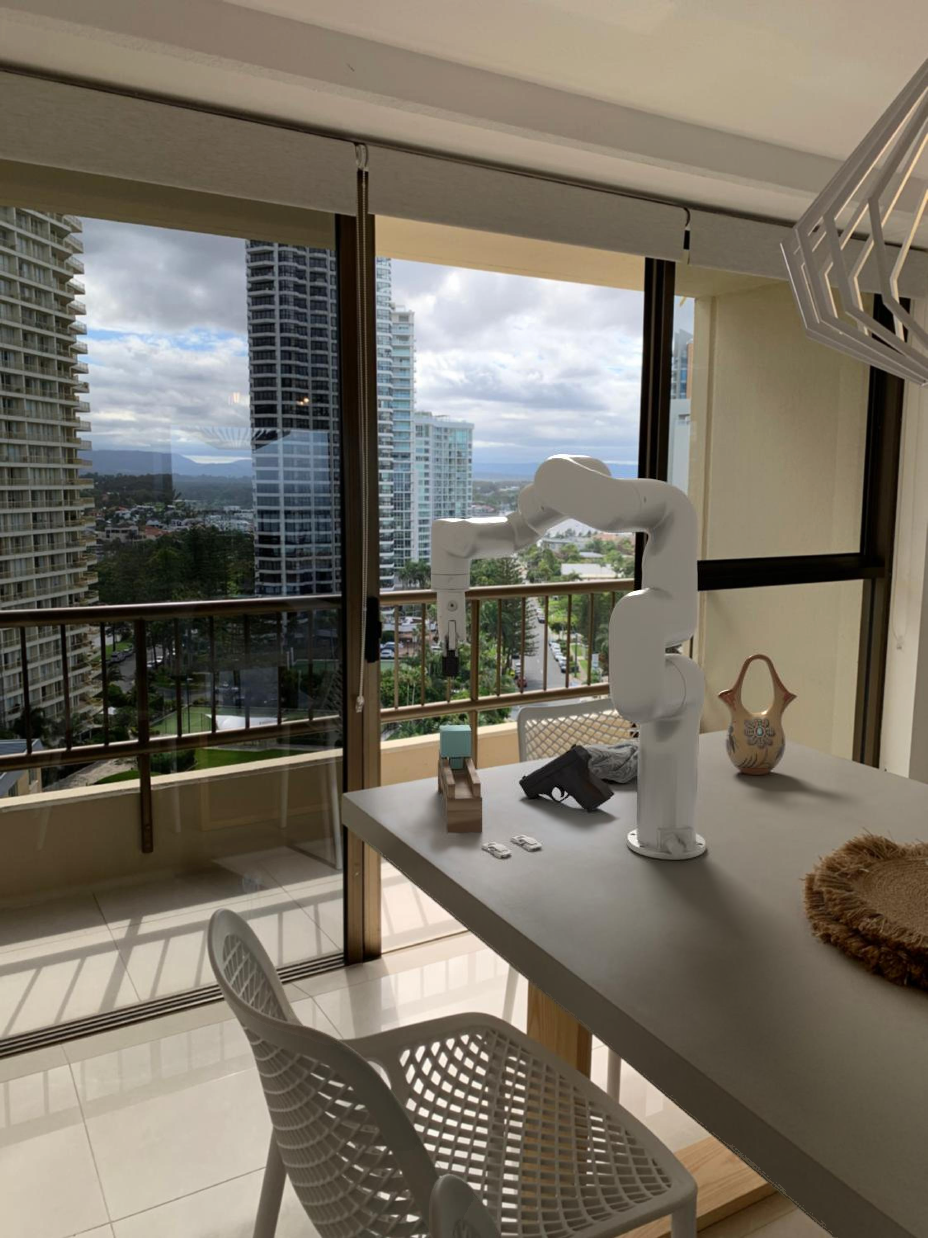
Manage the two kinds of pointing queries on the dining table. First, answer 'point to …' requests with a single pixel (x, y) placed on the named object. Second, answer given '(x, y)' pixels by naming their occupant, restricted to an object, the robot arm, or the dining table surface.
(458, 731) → the teal rectangular block
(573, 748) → the handgun
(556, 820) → the dining table surface
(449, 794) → the beam
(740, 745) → the ceramic vessel
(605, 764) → the decorative stone
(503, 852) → the white curved pieces
